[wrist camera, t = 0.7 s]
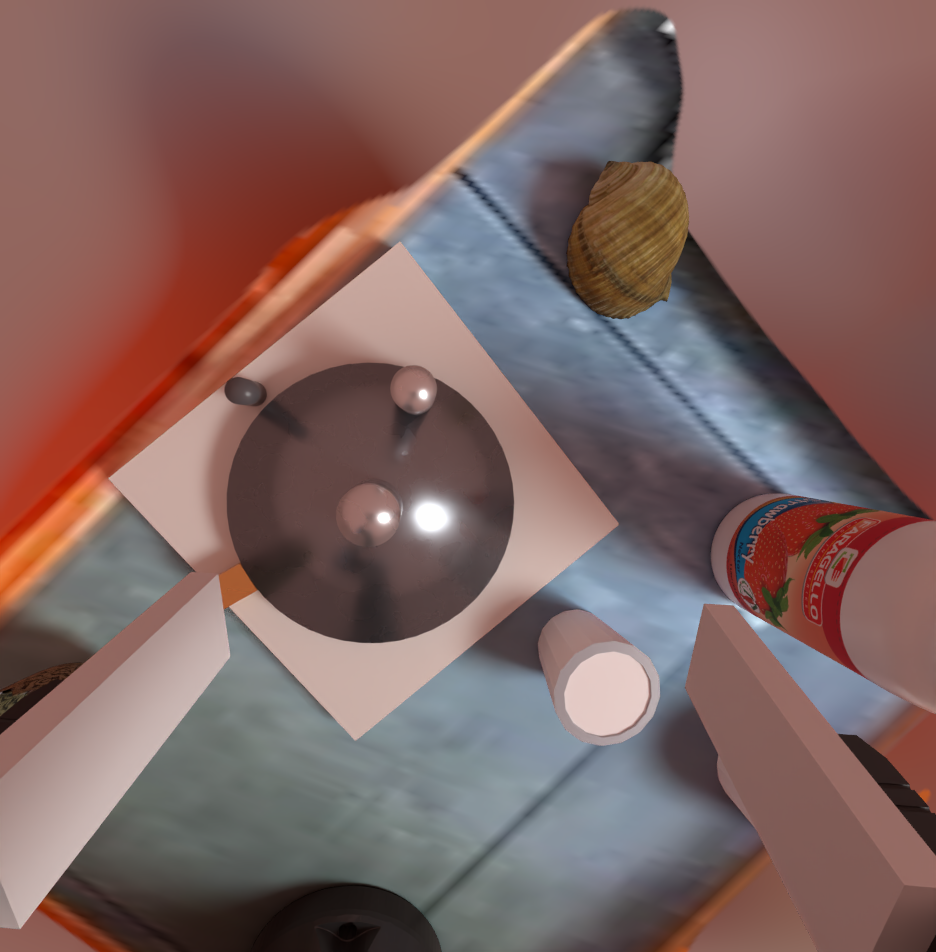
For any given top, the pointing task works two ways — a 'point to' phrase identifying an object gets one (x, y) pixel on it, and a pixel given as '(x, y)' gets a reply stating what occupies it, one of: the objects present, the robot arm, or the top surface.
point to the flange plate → (321, 476)
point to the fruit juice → (838, 584)
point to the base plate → (348, 342)
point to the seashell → (628, 239)
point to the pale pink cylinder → (596, 678)
